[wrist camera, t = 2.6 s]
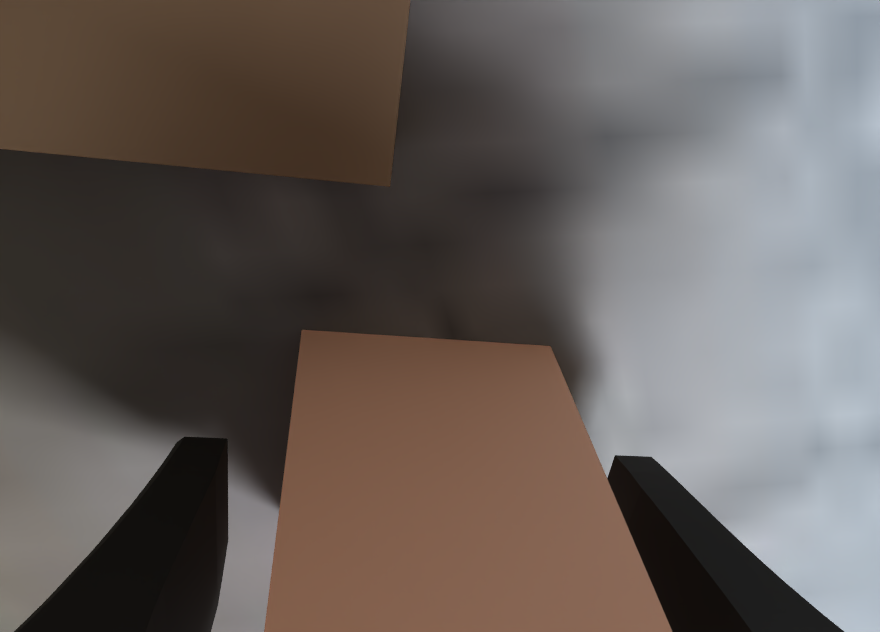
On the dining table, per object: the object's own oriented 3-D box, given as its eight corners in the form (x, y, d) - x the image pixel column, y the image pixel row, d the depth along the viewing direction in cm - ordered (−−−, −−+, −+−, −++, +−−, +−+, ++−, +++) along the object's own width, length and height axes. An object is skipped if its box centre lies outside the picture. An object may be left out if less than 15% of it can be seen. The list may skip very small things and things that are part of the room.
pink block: (292, 517, 13) (251, 915, 8) (301, 329, 11) (256, 696, 6) (506, 522, 14) (594, 896, 9) (550, 345, 12) (697, 690, 7)
